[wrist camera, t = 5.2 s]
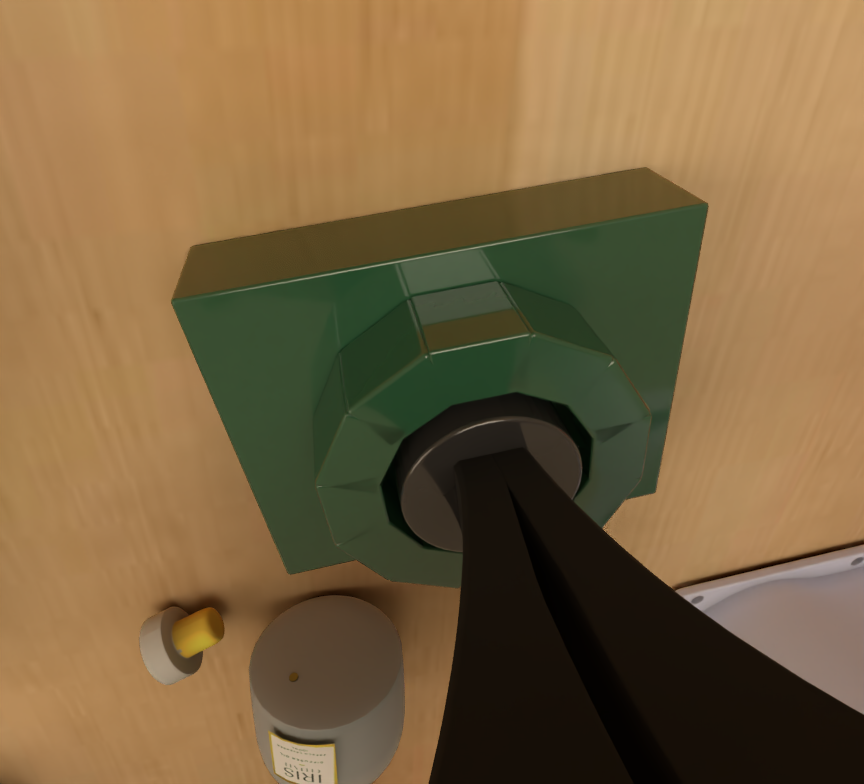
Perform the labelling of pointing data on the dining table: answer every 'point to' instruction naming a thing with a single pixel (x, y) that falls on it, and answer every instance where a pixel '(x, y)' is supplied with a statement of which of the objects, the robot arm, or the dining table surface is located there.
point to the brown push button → (472, 437)
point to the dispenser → (442, 349)
